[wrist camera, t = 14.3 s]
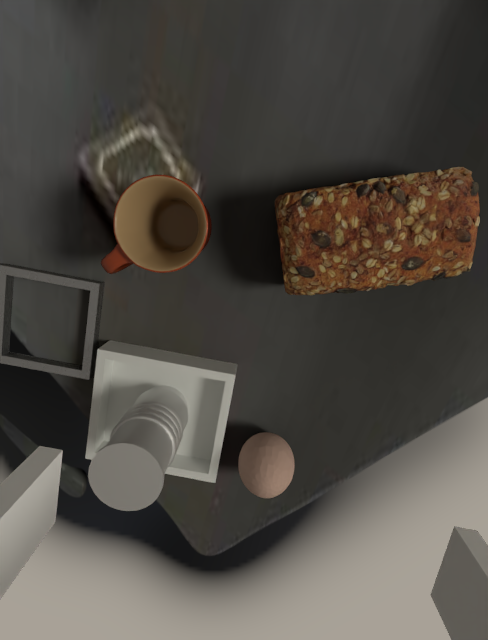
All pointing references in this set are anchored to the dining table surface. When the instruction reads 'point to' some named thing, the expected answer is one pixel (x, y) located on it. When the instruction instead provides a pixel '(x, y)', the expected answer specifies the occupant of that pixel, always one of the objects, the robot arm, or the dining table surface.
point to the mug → (158, 226)
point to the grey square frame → (3, 289)
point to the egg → (266, 464)
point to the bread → (378, 232)
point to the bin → (171, 370)
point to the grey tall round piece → (140, 450)
